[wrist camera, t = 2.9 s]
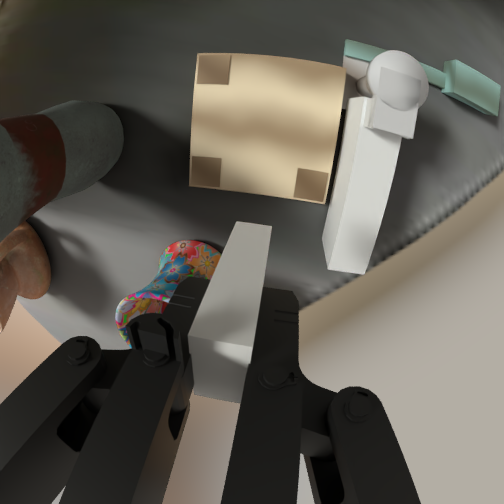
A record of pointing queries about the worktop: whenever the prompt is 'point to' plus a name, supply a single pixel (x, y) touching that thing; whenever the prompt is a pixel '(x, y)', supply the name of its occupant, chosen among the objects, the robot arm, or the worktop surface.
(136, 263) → the worktop surface
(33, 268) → the ceramic jug
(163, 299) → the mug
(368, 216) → the hinged leg
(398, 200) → the worktop surface
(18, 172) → the bottle
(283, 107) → the stool seat
